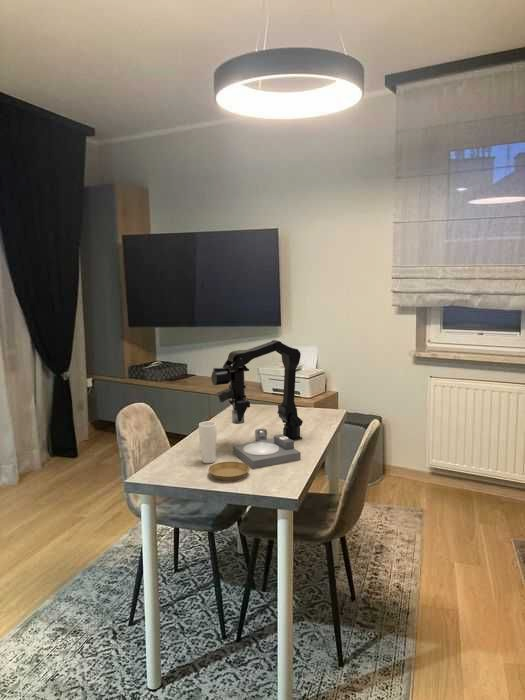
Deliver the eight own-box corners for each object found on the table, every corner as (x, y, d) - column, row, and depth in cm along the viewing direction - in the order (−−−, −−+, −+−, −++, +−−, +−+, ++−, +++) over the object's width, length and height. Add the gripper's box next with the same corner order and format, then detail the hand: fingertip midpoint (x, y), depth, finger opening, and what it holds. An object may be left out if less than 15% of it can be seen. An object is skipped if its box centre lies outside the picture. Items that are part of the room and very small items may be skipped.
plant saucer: (230, 464, 200) (230, 458, 199) (258, 474, 190) (258, 467, 189) (200, 476, 189) (199, 469, 189) (227, 487, 179) (227, 479, 179)
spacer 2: (263, 439, 229) (263, 427, 228) (269, 442, 224) (268, 430, 224) (253, 440, 227) (253, 429, 226) (258, 444, 222) (258, 432, 221)
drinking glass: (214, 465, 199) (213, 426, 197) (197, 464, 200) (196, 425, 198) (219, 458, 206) (218, 421, 203) (203, 457, 207) (201, 420, 205)
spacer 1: (243, 420, 220) (242, 408, 219) (245, 423, 215) (245, 411, 214) (231, 421, 218) (230, 409, 218) (233, 424, 214) (233, 412, 213)
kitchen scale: (276, 444, 221) (276, 430, 220) (300, 459, 203) (300, 443, 202) (232, 452, 212) (232, 437, 212) (253, 468, 195) (253, 452, 194)
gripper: (214, 379, 221) (215, 415, 223) (221, 388, 203) (222, 427, 206) (240, 377, 224) (241, 413, 226) (249, 386, 206) (250, 425, 208)
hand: (238, 419), depth 216 cm, fingers closed on spacer 1, 5 cm apart
